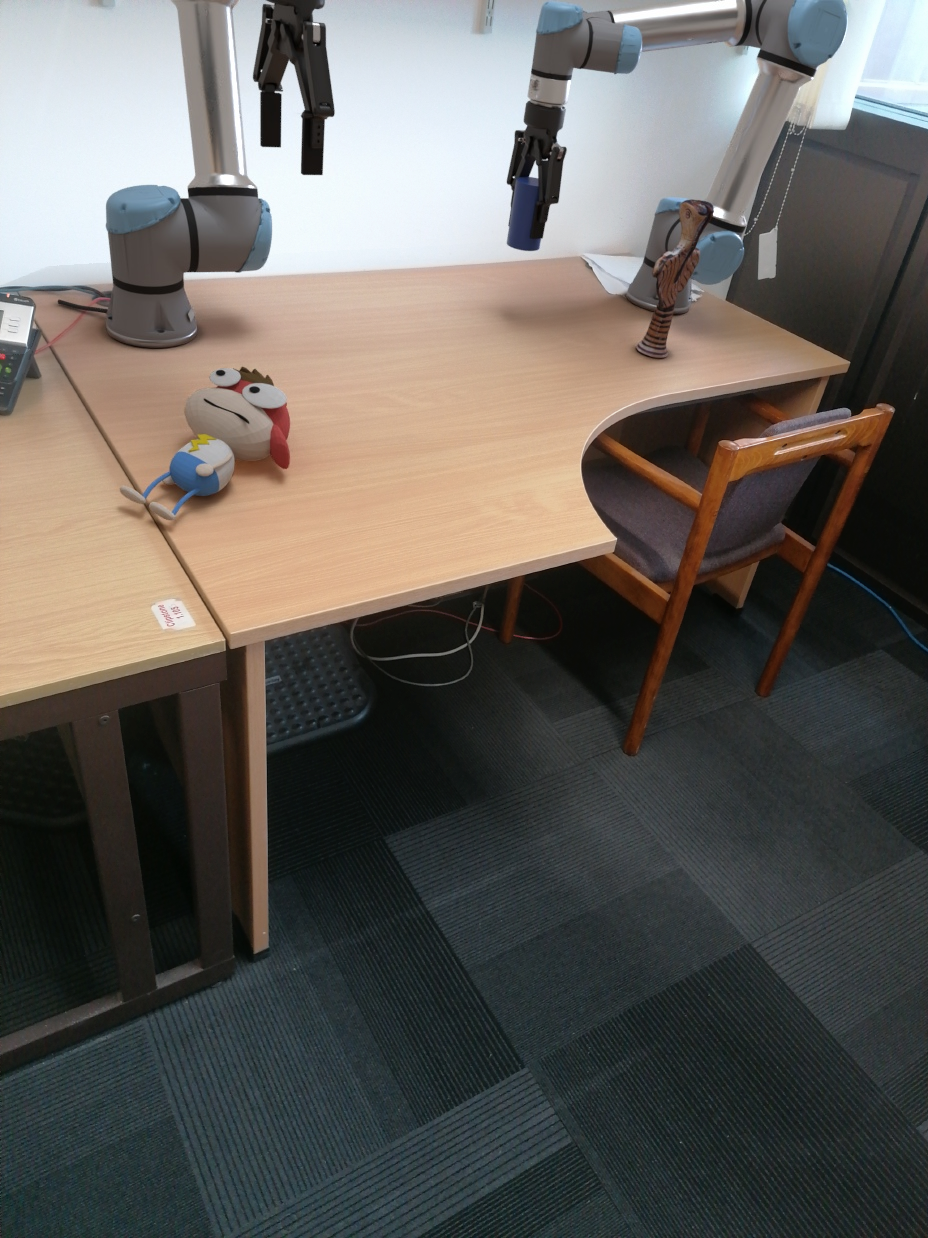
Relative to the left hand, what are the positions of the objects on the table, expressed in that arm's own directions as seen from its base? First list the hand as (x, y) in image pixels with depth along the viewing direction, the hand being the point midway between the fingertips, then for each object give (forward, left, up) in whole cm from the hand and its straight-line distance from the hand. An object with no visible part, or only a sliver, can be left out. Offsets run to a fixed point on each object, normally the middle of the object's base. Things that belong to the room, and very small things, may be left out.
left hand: (290, 160), depth 119 cm
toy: (0, -22, -37) cm, 43 cm away
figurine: (+52, +66, -37) cm, 92 cm away
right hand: (+20, +66, -20) cm, 72 cm away
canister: (+20, +66, -22) cm, 73 cm away
